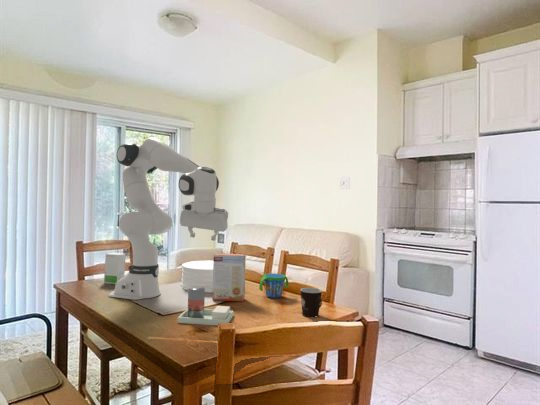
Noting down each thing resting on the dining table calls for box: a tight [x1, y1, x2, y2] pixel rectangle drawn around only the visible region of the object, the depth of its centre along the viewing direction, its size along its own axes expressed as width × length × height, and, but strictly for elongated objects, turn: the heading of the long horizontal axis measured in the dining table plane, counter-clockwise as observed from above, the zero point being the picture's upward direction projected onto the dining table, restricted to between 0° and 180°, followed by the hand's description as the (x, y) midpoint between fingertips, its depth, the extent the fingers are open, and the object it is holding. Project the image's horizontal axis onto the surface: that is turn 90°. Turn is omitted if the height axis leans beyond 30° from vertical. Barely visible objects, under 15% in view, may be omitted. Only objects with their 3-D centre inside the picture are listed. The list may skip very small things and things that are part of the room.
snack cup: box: [259, 273, 289, 299], centre depth 175 cm, size 16×10×10 cm
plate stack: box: [180, 260, 214, 293], centre depth 193 cm, size 28×28×12 cm
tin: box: [187, 287, 206, 318], centre depth 137 cm, size 6×6×11 cm
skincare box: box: [103, 251, 126, 285], centre depth 194 cm, size 8×7×16 cm
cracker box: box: [212, 252, 247, 303], centre depth 167 cm, size 14×6×21 cm, turn 84°
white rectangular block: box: [212, 305, 231, 320], centre depth 136 cm, size 5×8×4 cm, turn 175°
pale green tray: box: [177, 308, 234, 326], centre depth 136 cm, size 18×12×2 cm, turn 85°
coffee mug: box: [300, 287, 323, 318], centre depth 146 cm, size 12×9×10 cm
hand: (203, 238), depth 154 cm, fingers open, 8 cm apart
